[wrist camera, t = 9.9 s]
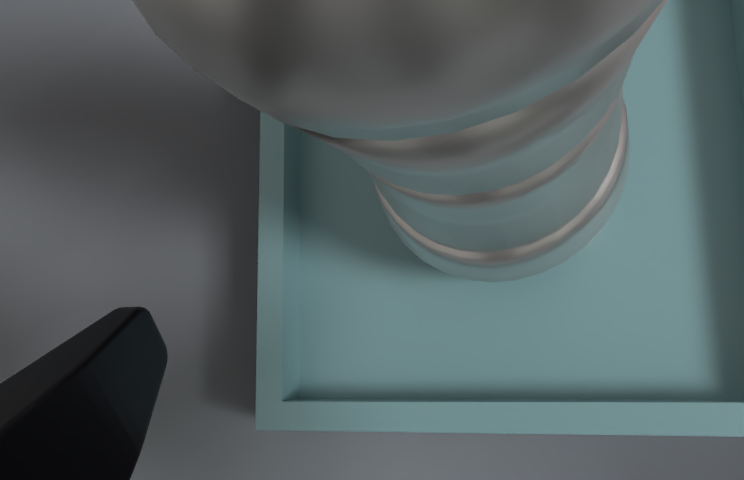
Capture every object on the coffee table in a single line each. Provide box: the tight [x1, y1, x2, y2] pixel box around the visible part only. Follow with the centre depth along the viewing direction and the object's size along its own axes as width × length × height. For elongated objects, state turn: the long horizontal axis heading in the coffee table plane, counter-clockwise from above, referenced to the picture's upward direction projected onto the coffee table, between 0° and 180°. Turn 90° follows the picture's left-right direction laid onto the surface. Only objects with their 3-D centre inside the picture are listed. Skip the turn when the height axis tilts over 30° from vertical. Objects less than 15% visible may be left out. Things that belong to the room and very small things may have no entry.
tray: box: [255, 0, 744, 437], centre depth 20 cm, size 15×15×2 cm
